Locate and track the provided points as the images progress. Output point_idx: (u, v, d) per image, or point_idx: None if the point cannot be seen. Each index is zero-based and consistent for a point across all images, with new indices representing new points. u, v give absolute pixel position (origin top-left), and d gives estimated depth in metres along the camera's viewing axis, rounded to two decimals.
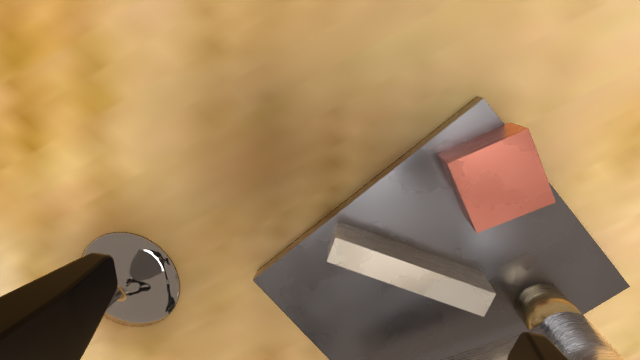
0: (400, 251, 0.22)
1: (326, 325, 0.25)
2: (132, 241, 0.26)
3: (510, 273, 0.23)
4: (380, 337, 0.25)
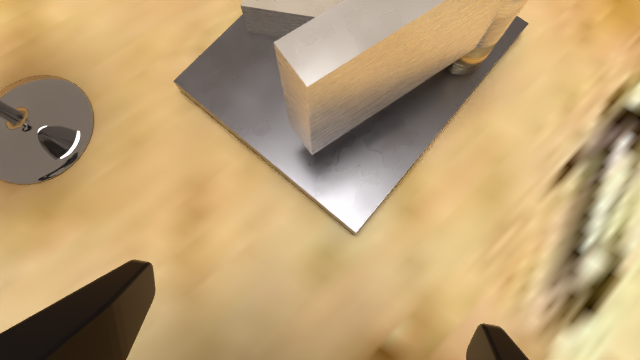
0: None
1: (255, 116, 0.23)
2: (46, 81, 0.25)
3: None
4: None
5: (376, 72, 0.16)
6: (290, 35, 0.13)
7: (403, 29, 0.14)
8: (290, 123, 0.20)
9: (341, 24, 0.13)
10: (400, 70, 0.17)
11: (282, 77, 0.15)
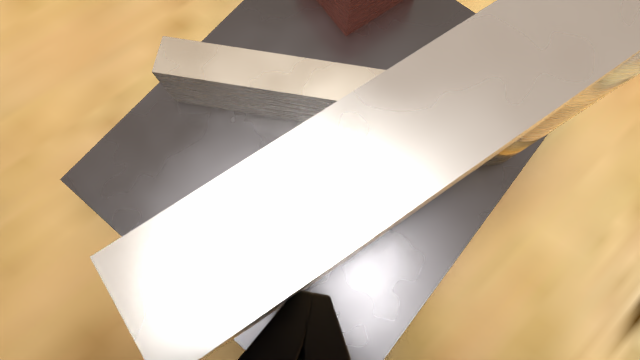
0: None
1: None
2: None
3: None
4: None
5: (348, 257, 0.08)
6: (133, 237, 0.06)
7: (400, 218, 0.06)
8: None
9: (255, 209, 0.06)
10: None
11: None
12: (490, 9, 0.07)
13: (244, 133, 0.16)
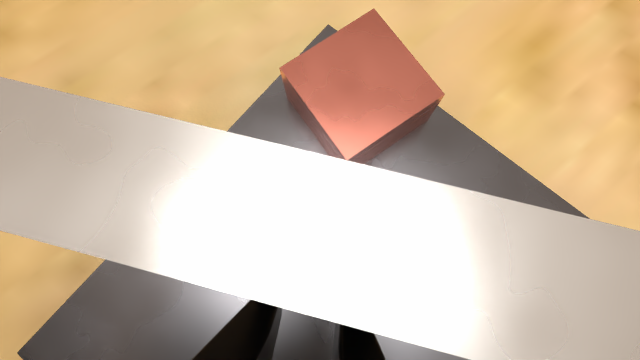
0: None
1: None
2: None
3: None
4: None
5: None
6: (33, 92, 0.06)
7: (220, 289, 0.05)
8: None
9: (125, 162, 0.05)
10: None
11: None
12: (508, 205, 0.05)
13: (224, 299, 0.14)
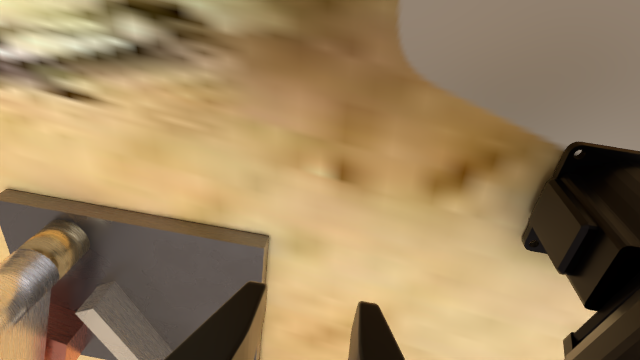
0: None
1: None
2: None
3: (78, 270, 0.27)
4: (205, 307, 0.27)
5: None
6: None
7: None
8: None
9: None
10: None
11: None
12: None
13: (173, 336, 0.29)
